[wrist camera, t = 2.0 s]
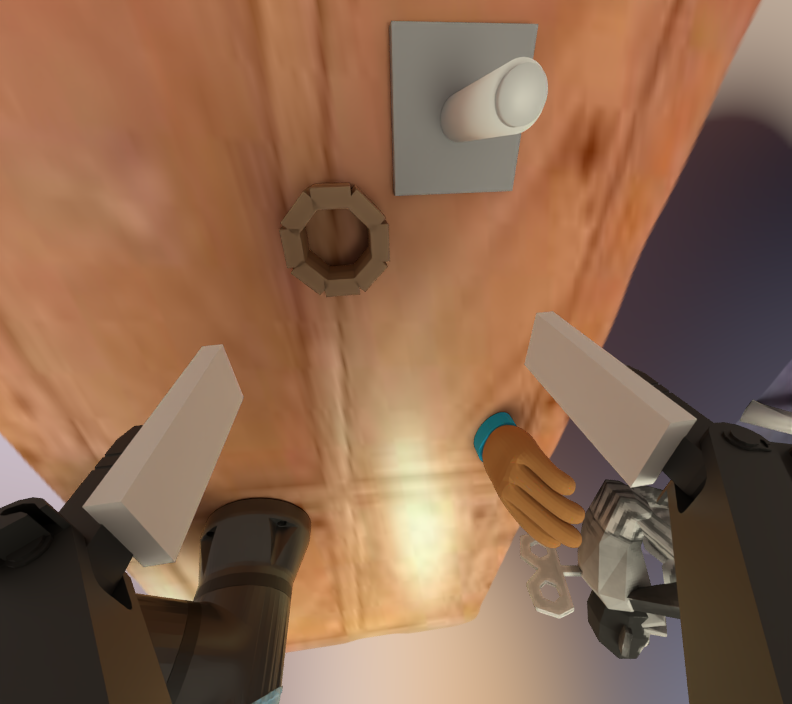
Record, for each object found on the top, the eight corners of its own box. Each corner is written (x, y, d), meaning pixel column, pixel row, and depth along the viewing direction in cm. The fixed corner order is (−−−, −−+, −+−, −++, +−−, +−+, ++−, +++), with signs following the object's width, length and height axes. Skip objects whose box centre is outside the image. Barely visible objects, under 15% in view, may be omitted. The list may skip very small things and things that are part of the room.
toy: (705, 478, 59) (656, 610, 64) (535, 437, 64) (502, 561, 69) (837, 570, 38) (749, 754, 43) (568, 498, 44) (518, 667, 49)
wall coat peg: (393, 194, 26) (420, 213, 17) (389, 26, 21) (424, -75, 12) (506, 189, 27) (587, 205, 18) (530, 29, 22) (661, -62, 13)
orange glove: (500, 466, 48) (555, 575, 36) (459, 465, 47) (503, 578, 34) (535, 409, 42) (616, 514, 30) (490, 404, 41) (557, 514, 28)
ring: (299, 283, 29) (294, 299, 25) (280, 185, 24) (270, 189, 21) (385, 276, 29) (390, 292, 26) (381, 181, 25) (387, 184, 22)
